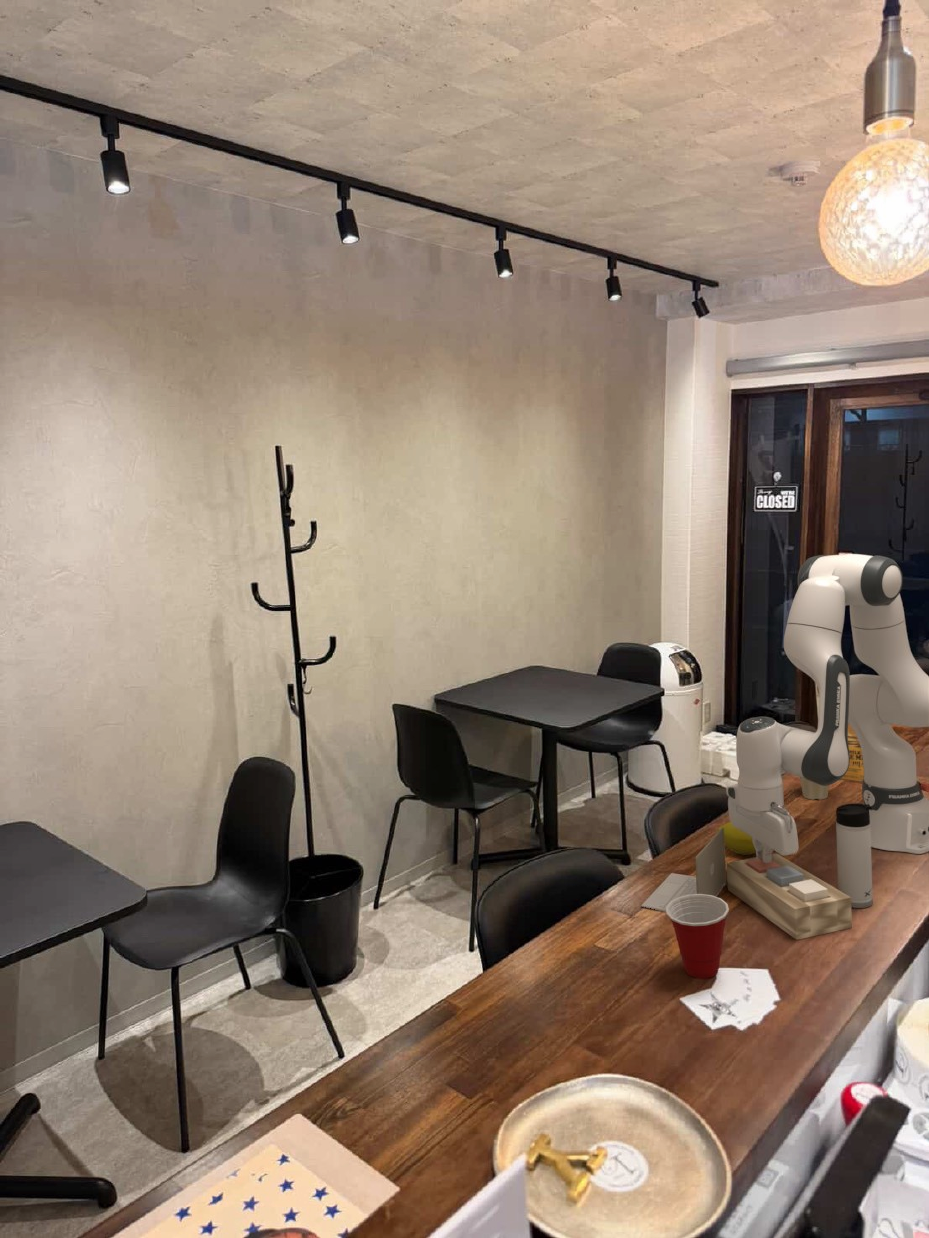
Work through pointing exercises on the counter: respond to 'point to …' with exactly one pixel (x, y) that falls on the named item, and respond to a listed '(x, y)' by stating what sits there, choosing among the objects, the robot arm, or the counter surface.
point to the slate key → (784, 875)
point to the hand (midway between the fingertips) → (764, 860)
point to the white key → (808, 890)
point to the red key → (762, 865)
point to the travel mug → (854, 853)
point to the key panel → (789, 901)
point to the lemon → (737, 840)
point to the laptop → (705, 882)
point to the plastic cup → (699, 931)
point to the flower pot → (813, 790)
